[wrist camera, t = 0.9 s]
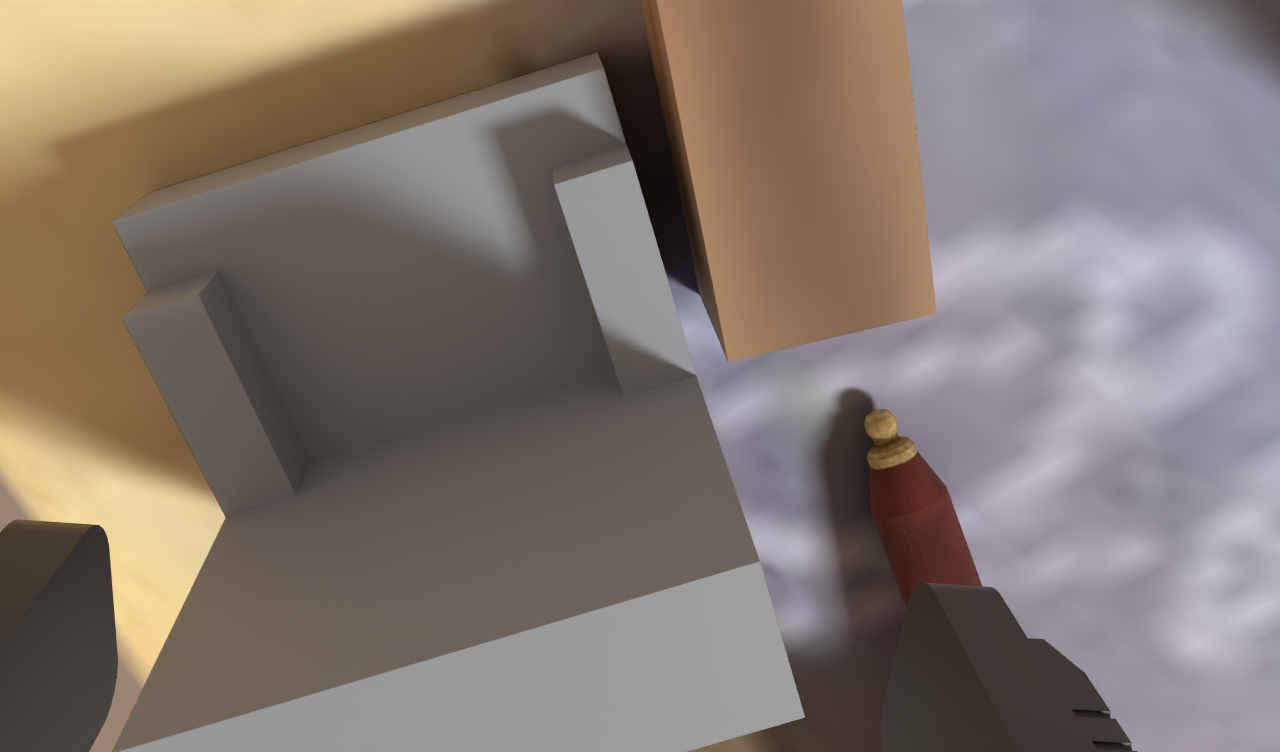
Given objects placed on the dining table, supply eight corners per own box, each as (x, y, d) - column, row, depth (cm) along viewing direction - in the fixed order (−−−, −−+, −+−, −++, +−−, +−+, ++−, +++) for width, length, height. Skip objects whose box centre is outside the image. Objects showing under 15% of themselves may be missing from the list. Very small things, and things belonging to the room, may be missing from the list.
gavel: (798, 400, 41) (817, 479, 31) (919, 356, 40) (978, 422, 30) (983, 887, 44) (1053, 1098, 34) (1098, 855, 43) (1203, 1060, 33)
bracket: (597, 52, 31) (644, 165, 18) (706, 422, 36) (804, 717, 23) (148, 192, 31) (-116, 400, 19) (317, 539, 36) (200, 893, 23)
